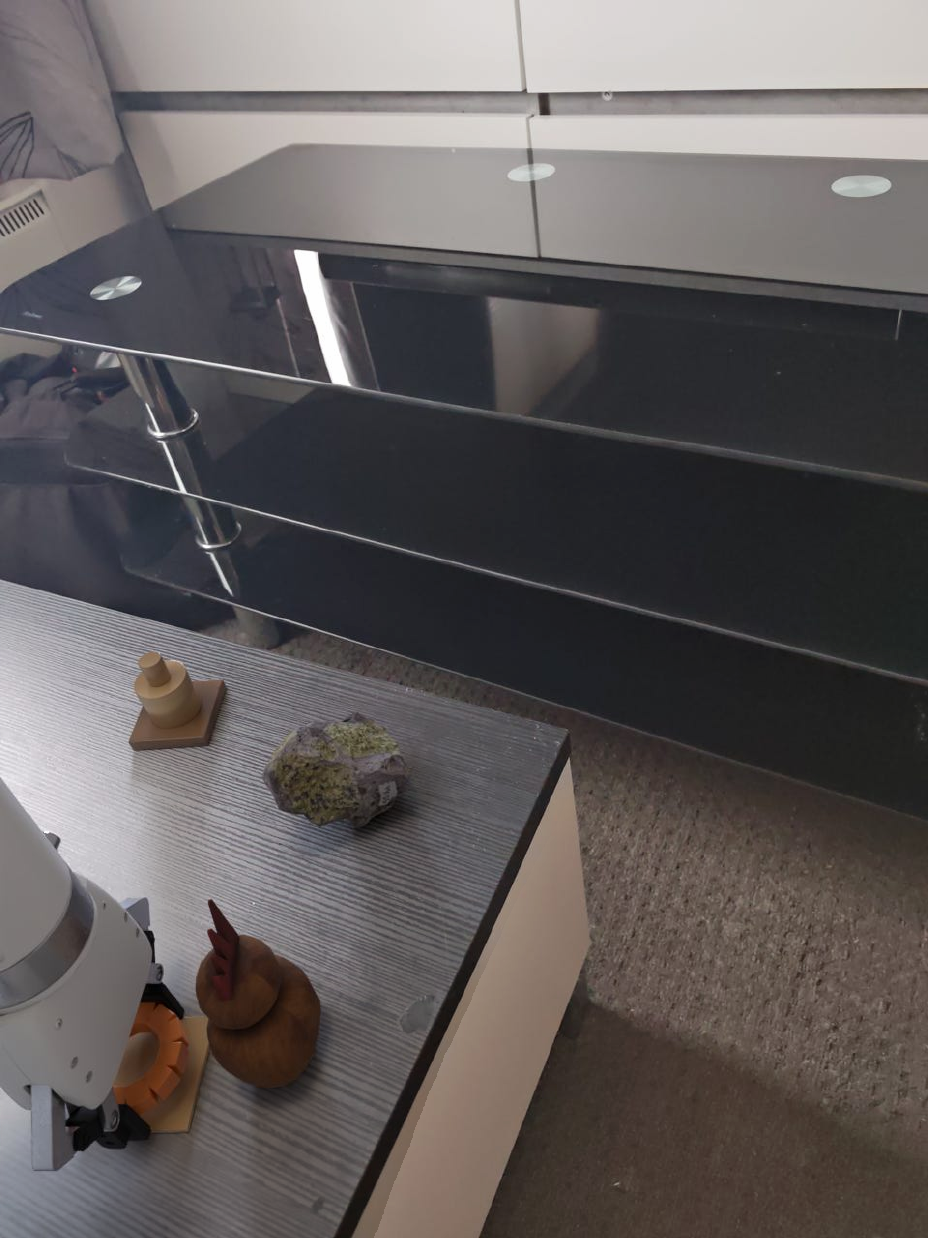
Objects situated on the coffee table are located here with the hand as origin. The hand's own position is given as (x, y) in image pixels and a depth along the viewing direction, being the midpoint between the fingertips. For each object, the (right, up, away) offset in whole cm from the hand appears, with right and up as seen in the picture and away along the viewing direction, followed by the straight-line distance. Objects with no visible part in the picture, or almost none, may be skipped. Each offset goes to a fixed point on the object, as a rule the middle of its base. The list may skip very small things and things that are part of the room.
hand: (145, 1073), depth 58 cm
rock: (+12, +14, +14) cm, 23 cm away
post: (-5, +20, +24) cm, 32 cm away
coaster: (0, 0, +1) cm, 1 cm away
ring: (0, +1, -1) cm, 1 cm away
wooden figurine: (+9, +1, +1) cm, 9 cm away
